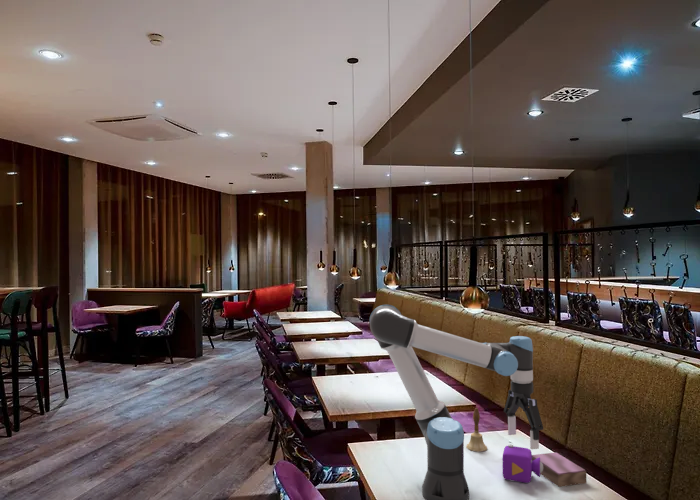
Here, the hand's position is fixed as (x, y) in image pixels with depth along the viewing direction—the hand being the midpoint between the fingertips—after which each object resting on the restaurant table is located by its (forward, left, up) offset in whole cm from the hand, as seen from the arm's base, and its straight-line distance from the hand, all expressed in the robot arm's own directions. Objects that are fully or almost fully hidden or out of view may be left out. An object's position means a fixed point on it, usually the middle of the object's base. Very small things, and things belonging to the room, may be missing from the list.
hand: (522, 441), depth 172 cm
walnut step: (+13, -1, -13) cm, 18 cm away
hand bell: (-3, +28, -13) cm, 31 cm away
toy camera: (0, 0, -13) cm, 13 cm away
